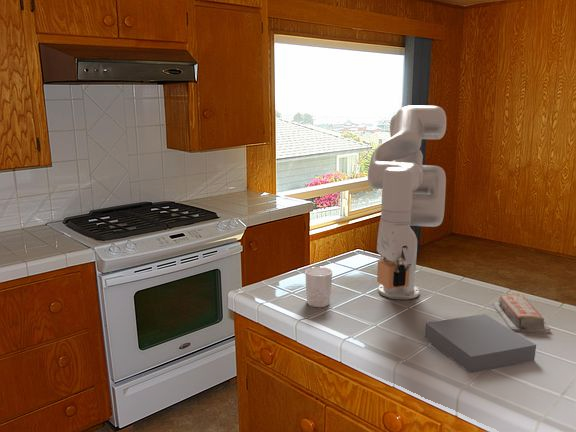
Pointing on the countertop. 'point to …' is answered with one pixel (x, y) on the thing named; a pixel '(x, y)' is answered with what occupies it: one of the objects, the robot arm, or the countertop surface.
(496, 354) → the plinth
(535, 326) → the packaged product
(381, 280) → the cube
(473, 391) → the countertop surface
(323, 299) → the white cup
